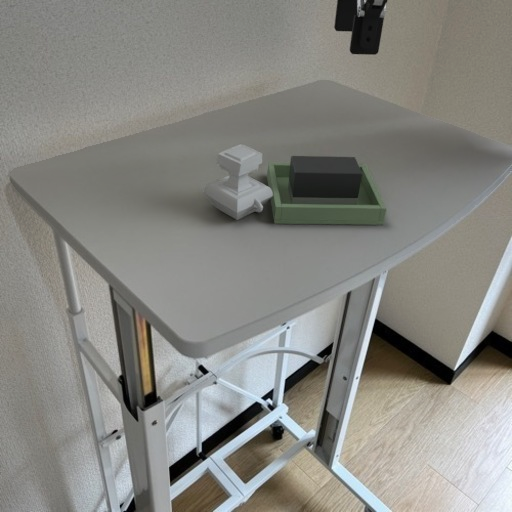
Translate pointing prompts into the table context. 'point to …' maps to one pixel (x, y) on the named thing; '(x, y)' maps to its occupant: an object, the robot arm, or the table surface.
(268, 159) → the table surface
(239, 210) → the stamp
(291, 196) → the eraser
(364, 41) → the robot arm
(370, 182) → the tray
